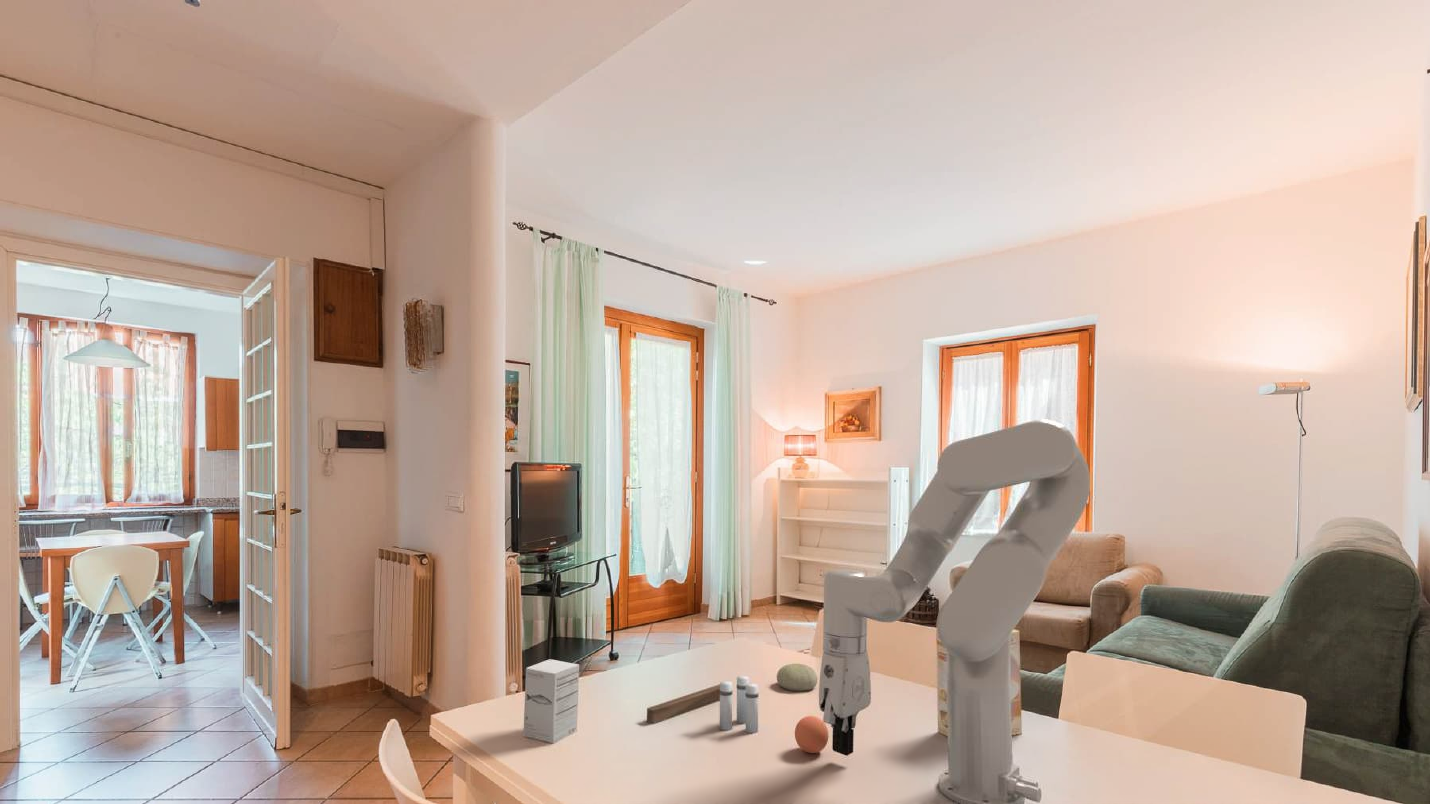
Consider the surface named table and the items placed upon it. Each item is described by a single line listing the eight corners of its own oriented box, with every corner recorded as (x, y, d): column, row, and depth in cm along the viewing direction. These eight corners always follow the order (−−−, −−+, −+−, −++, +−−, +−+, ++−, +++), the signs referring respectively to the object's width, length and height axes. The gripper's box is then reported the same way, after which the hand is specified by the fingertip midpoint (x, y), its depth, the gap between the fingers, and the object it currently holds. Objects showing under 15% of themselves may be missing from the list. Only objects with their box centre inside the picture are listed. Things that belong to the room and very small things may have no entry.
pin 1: (734, 727, 134) (735, 683, 134) (726, 731, 132) (726, 686, 133) (725, 724, 135) (725, 680, 136) (716, 727, 134) (717, 683, 134)
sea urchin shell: (820, 686, 154) (794, 658, 156) (795, 709, 155) (770, 682, 156) (822, 673, 163) (798, 647, 165) (798, 696, 164) (774, 670, 165)
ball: (835, 751, 123) (835, 716, 123) (815, 762, 119) (815, 725, 119) (807, 742, 127) (807, 708, 128) (788, 751, 123) (787, 717, 123)
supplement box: (521, 737, 128) (524, 667, 130) (548, 724, 135) (550, 657, 136) (552, 745, 125) (554, 673, 126) (578, 731, 131) (580, 663, 133)
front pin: (760, 730, 132) (761, 685, 133) (752, 734, 131) (752, 688, 131) (751, 727, 134) (751, 682, 135) (742, 730, 132) (742, 685, 133)
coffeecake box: (962, 745, 126) (959, 636, 128) (936, 731, 133) (934, 628, 134) (1024, 734, 132) (1021, 630, 134) (996, 721, 138) (993, 622, 140)
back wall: (728, 697, 151) (728, 685, 152) (653, 723, 135) (653, 710, 136) (721, 695, 153) (722, 683, 153) (646, 721, 137) (646, 708, 137)
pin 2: (751, 721, 137) (751, 677, 138) (743, 724, 136) (743, 680, 136) (742, 717, 139) (742, 674, 140) (733, 721, 137) (734, 677, 138)
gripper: (839, 655, 112) (837, 773, 110) (885, 639, 123) (884, 746, 121) (801, 645, 117) (799, 757, 115) (849, 631, 128) (847, 733, 126)
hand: (842, 751), depth 118 cm, fingers closed
